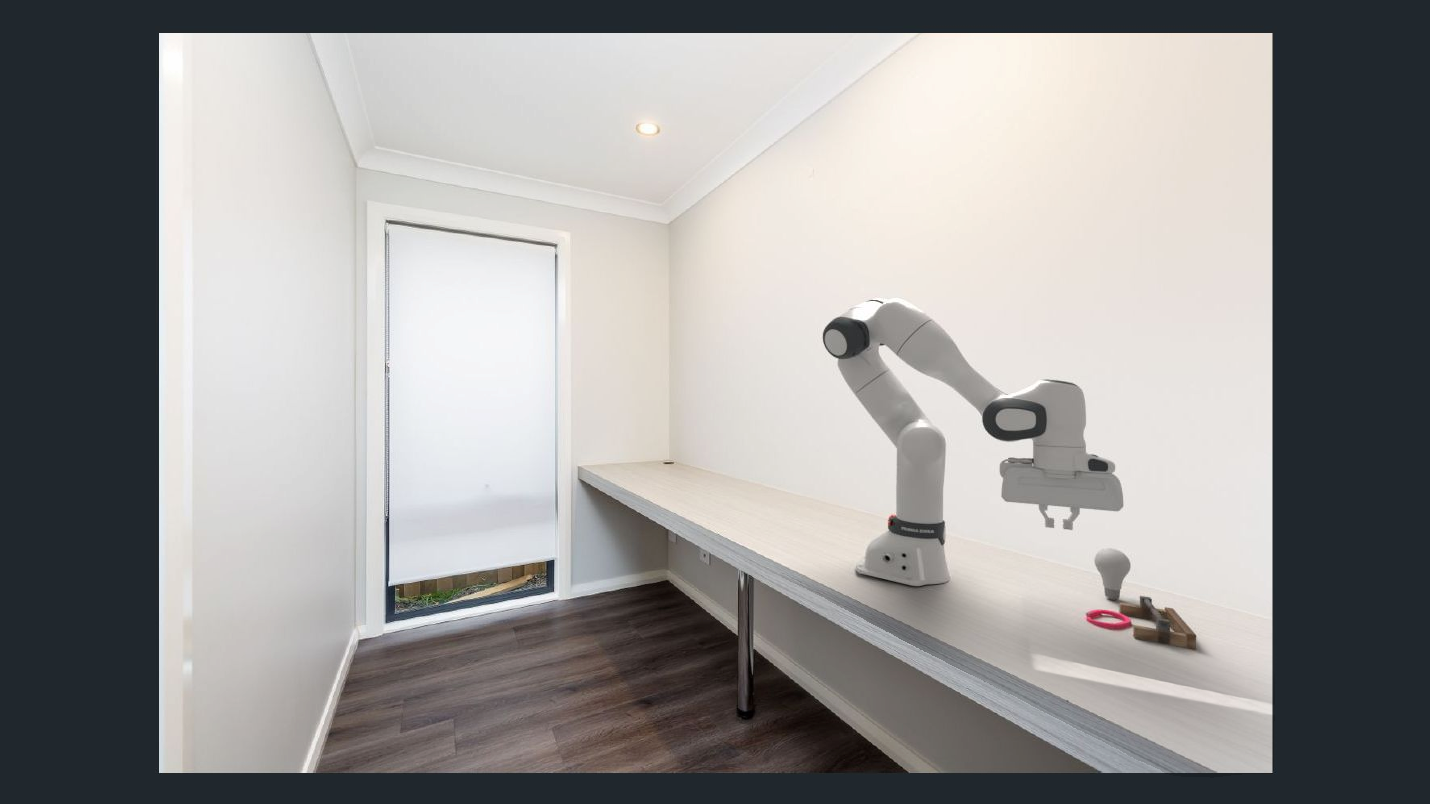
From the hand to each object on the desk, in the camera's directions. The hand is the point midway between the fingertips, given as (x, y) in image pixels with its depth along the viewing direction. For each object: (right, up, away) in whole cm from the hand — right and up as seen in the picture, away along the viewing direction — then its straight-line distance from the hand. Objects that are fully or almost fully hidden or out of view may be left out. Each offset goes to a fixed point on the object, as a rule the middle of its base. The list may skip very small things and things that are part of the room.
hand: (1058, 528), depth 101 cm
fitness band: (+7, -18, -4) cm, 19 cm away
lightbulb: (+16, -17, +7) cm, 25 cm away
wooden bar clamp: (+12, -17, -7) cm, 22 cm away
